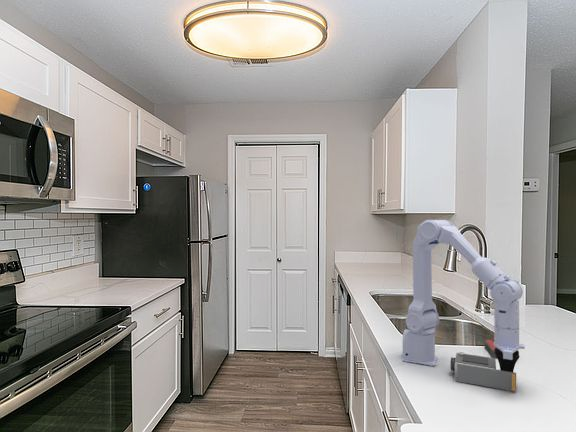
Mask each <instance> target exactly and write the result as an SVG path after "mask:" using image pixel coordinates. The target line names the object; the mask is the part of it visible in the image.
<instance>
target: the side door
mask: <svg viewBox="0 0 576 432" xmlns="http://www.w3.org/2000/svg"><path fill="white" fill-rule="evenodd" d="M454 382H460V383H466V384H472V385H478V386H482V387H487V388H488V387H489V388H494V389H501V390H504V391H505V390H506V391H510V392H511V391H512V392H517V372H515V371H513V372H509V371H503V370H500V369H497V368H496V369H490V368H484V367H478V366H471V365H465V364H459V363H455V371H454Z"/></svg>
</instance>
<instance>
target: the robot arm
mask: <svg viewBox="0 0 576 432" xmlns="http://www.w3.org/2000/svg"><path fill="white" fill-rule="evenodd" d="M416 229H417V232H416V235H415V237H414V240H413V242H412V280H413V281H412V284H413V285H412V287H413V288H412V289H413V291H412V292H413V297H412V298H413V300H412V302H411V303H410V304H409V306H408V308H407V310H408V311H407V314H406V317H405V324H406V326H407V328H408V329H404V330H403V333H402V359H401V361H402V362H406V363H407V362H408V363H413V364H420V365H424V366H425V365H426V366H432V367H434V366H436V363H437V361H438V356H436V327H437V326H438V325H439V323H440V316H439V313H438V311H437V305H436V304H435V302H434V301H433V288H432V287H433V286H432V284H433V283H432V278H433V276H432V275H433V274H432V250H433V249H434V248H436V246H437V245H439V244H444V245H449V246H451V247H452V248H453V249H455V250H456V252H458V253H459V255H461V256H462V257H463V258H464V259H465V260H466V261H467V262H468V263H469V264H470V265H471V271H472V273H473V274H474V275H475V276H476V277H477V278H478V279H479V281H480V282H481V283H482V284H483V285H484V286H485V287H486V288H487V289H488V290H489V293H490V297H491V298H492V300H493V302H494V307H493V308H494V311H493V313H494V318H493V320H494V321H493V322H494V323H493V324H494V330H493V332H494V333H493V334H494V342H493V344H494V346H496V347H497V348H495V349H494V350H495V355H496V357H497V359H496V360H497V361H498V364H499V370H503V371H509V372H515V371H514V370H515V367H516V364H517V362H518V360H519V359H520V352H519V350H525V349H526V348H525V344H522V343H520V299H521V298H522V297H523V295H524V294H523V292H524V291H523V288H522V286H521V284H520V283H519V281H518V280H516V279H512V278H511V276H509V274H505V273H504V272H503V271H502V270H501V269H500V267H498V266H497V264H498V263H497V261H496V260H494V259H490V258H489V257H483V256H482V255H480V253H479V252H478V251H477V250H476V249H475V248H474V247H473V245H471V243H470V242H469V241H468V239H466V238H465V236H464V235H463V234H462V233H461V232H460V230H459V229H458V227H457V226H455V225H454V224H453V223H452V222H451V221H450V220H448V219H426V220H424V221H423V222H422V223H420V224H419V225H418V226H417V228H416Z"/></svg>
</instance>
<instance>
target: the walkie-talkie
mask: <svg viewBox="0 0 576 432" xmlns="http://www.w3.org/2000/svg"><path fill="white" fill-rule="evenodd" d="M493 342H494V337H491V339H486V340H484V349H485V350H486V351H487V353H488V354H489V356H490V358H496V360H498V359H497V357H496V355H495V350H494V349H495V348H497V347H496V346H494V344H493Z"/></svg>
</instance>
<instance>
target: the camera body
mask: <svg viewBox="0 0 576 432" xmlns="http://www.w3.org/2000/svg"><path fill="white" fill-rule="evenodd" d="M455 363H459V364H465V365H471V366H478V367H484V368H490V369H497V359H496V358H492V357H491V356H490V357H489V356H482V355H476V354H469V353H465V352H462V351H459V352H456V354H455V357H453V356H452V357H450V371H451V372H455Z"/></svg>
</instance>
